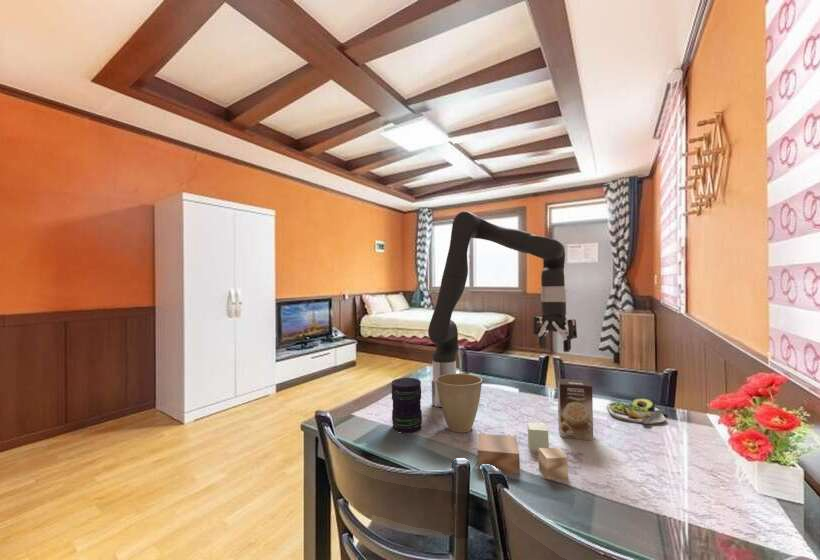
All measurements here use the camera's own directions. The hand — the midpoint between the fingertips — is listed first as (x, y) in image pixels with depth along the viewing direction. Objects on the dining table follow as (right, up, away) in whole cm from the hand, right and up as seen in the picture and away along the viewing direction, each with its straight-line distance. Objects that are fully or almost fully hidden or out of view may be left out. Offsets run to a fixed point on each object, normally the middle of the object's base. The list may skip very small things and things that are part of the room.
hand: (554, 349), depth 111 cm
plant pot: (-31, -26, -1) cm, 40 cm away
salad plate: (+32, -25, +8) cm, 41 cm away
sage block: (-11, -25, -15) cm, 31 cm away
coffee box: (+3, -25, -8) cm, 26 cm away
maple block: (-12, -24, -28) cm, 39 cm away
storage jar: (-48, -26, +1) cm, 55 cm away
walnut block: (-24, -25, -22) cm, 41 cm away
